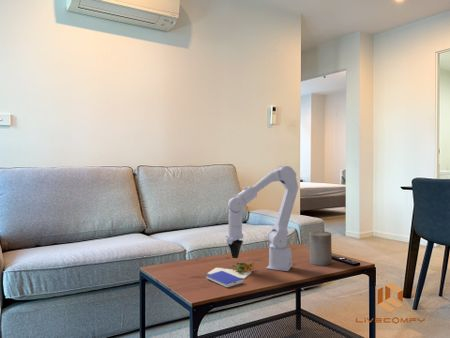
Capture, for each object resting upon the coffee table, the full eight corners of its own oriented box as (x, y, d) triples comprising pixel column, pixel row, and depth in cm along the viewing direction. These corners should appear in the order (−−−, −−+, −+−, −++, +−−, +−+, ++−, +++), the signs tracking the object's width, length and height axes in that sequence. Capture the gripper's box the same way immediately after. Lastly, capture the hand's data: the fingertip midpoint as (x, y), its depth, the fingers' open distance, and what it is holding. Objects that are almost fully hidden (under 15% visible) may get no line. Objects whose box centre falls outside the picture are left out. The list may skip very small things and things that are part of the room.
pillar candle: (327, 260, 170) (327, 228, 170) (334, 265, 160) (334, 231, 160) (307, 260, 170) (306, 228, 169) (312, 266, 160) (312, 232, 160)
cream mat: (251, 272, 150) (251, 271, 150) (244, 279, 141) (244, 278, 141) (216, 268, 156) (216, 267, 156) (207, 274, 147) (207, 273, 147)
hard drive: (206, 274, 141) (226, 283, 131) (222, 270, 146) (243, 278, 136) (206, 278, 141) (226, 287, 131) (222, 274, 146) (243, 282, 136)
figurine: (227, 266, 149) (244, 269, 144) (244, 258, 158) (260, 260, 153) (228, 273, 149) (244, 276, 144) (245, 265, 158) (261, 267, 153)
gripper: (232, 222, 163) (232, 253, 163) (219, 227, 149) (219, 260, 149) (247, 223, 160) (247, 254, 160) (235, 229, 147) (235, 262, 147)
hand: (235, 257), depth 155 cm, fingers closed
